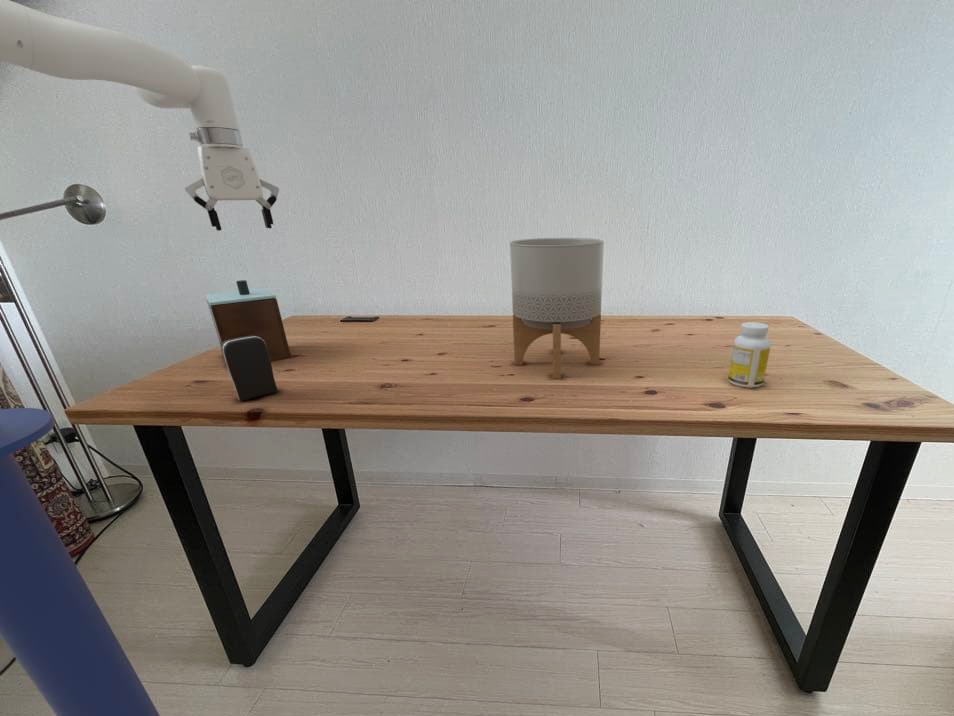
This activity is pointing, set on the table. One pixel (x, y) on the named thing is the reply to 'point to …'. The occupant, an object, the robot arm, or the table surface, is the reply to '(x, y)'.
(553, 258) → the planter
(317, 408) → the table surface
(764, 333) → the pill bottle
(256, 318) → the brown wooden box
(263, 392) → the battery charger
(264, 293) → the lid
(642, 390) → the table surface
